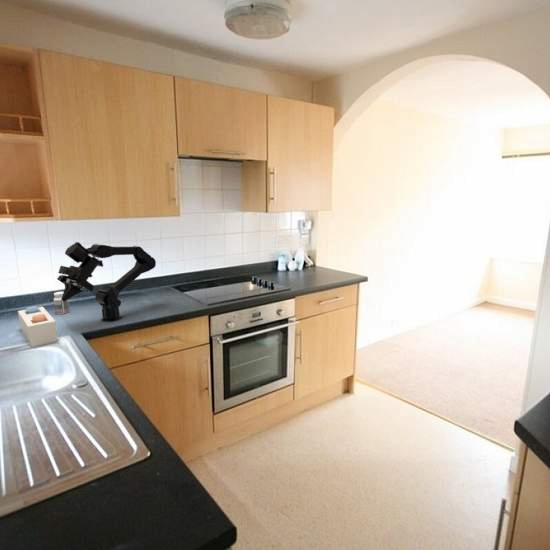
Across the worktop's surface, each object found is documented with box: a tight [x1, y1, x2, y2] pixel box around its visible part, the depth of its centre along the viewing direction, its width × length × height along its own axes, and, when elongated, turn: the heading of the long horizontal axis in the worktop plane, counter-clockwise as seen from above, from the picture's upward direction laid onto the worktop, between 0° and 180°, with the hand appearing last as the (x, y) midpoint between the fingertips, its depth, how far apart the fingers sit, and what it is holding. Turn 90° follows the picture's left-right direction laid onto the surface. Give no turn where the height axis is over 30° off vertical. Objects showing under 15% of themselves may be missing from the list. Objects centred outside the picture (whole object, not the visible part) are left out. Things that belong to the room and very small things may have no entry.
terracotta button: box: [32, 314, 46, 323], centre depth 143 cm, size 4×4×2 cm
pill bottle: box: [53, 291, 70, 315], centre depth 178 cm, size 6×6×10 cm
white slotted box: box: [17, 306, 59, 348], centre depth 149 cm, size 26×9×8 cm, turn 41°
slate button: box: [25, 305, 39, 314], centre depth 154 cm, size 4×4×2 cm
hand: (62, 300), depth 150 cm, fingers closed
